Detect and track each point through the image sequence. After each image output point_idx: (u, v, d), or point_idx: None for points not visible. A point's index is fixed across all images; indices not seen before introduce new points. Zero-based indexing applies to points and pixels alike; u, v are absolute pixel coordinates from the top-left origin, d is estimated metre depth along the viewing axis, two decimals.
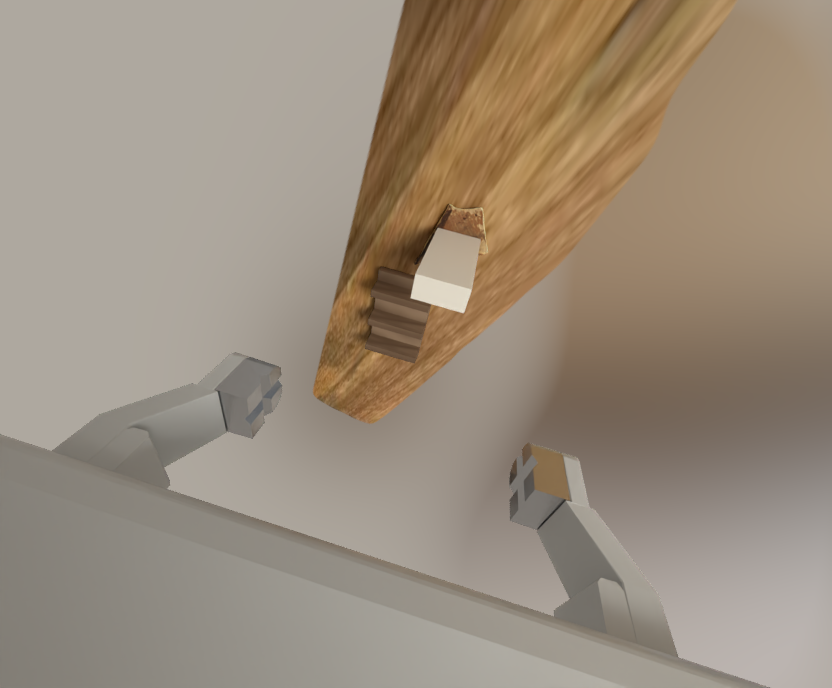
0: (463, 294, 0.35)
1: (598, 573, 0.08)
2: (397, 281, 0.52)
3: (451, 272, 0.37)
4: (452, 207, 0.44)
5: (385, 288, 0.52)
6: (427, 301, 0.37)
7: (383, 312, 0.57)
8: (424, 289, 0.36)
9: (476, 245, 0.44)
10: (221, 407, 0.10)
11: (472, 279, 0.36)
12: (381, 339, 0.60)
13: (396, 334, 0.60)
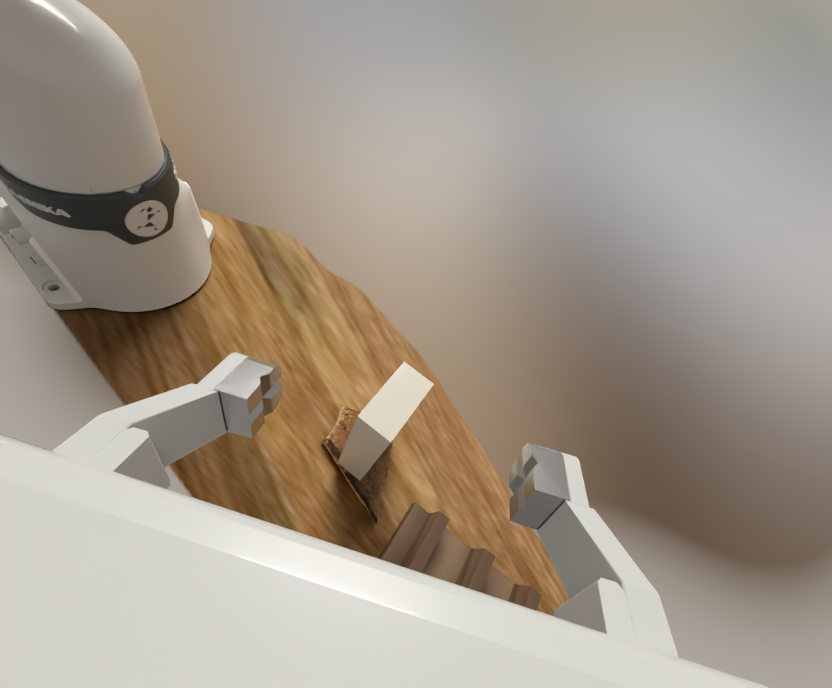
0: (407, 373, 0.27)
1: (598, 574, 0.08)
2: None
3: None
4: (327, 437, 0.37)
5: None
6: (403, 420, 0.25)
7: None
8: (384, 416, 0.25)
9: None
10: (221, 407, 0.10)
11: None
12: None
13: None
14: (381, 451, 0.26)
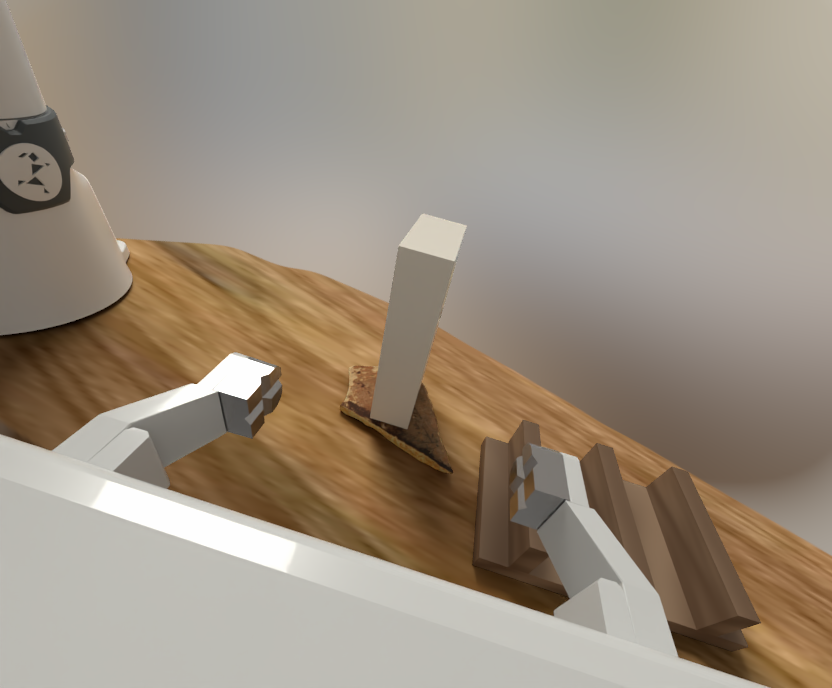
0: (432, 219, 0.22)
1: (598, 573, 0.08)
2: (497, 511, 0.22)
3: None
4: (345, 401, 0.27)
5: (518, 525, 0.20)
6: (455, 246, 0.19)
7: None
8: (431, 244, 0.18)
9: None
10: (221, 407, 0.10)
11: None
12: (690, 582, 0.21)
13: (648, 542, 0.23)
14: (440, 305, 0.19)
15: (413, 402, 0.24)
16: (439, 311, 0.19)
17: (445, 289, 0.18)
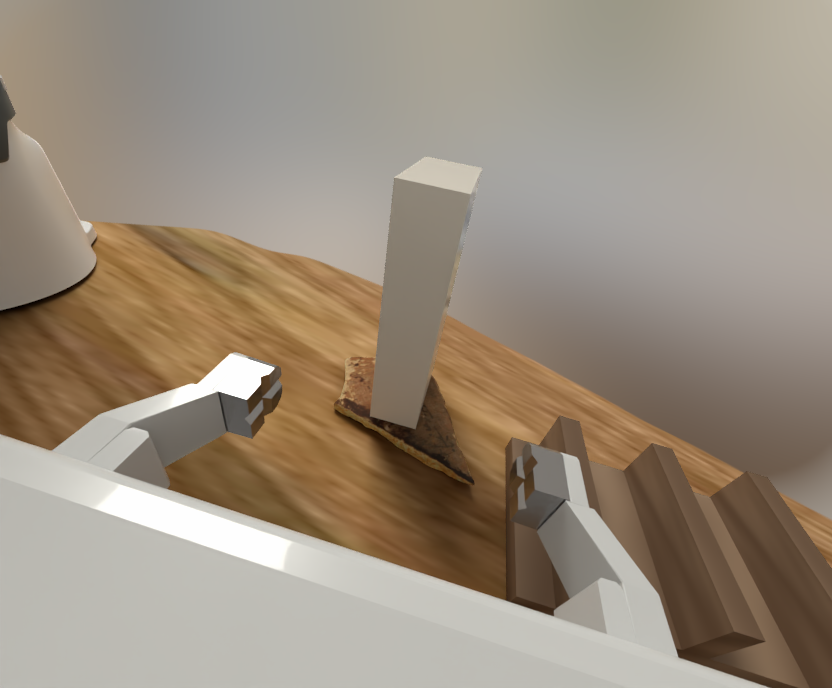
0: (438, 161, 0.17)
1: (598, 573, 0.08)
2: (534, 532, 0.18)
3: None
4: (340, 398, 0.23)
5: None
6: (470, 183, 0.14)
7: (671, 600, 0.16)
8: (438, 179, 0.14)
9: None
10: (221, 407, 0.10)
11: None
12: (794, 624, 0.16)
13: None
14: (452, 260, 0.14)
15: (421, 394, 0.19)
16: (451, 269, 0.15)
17: (458, 237, 0.14)
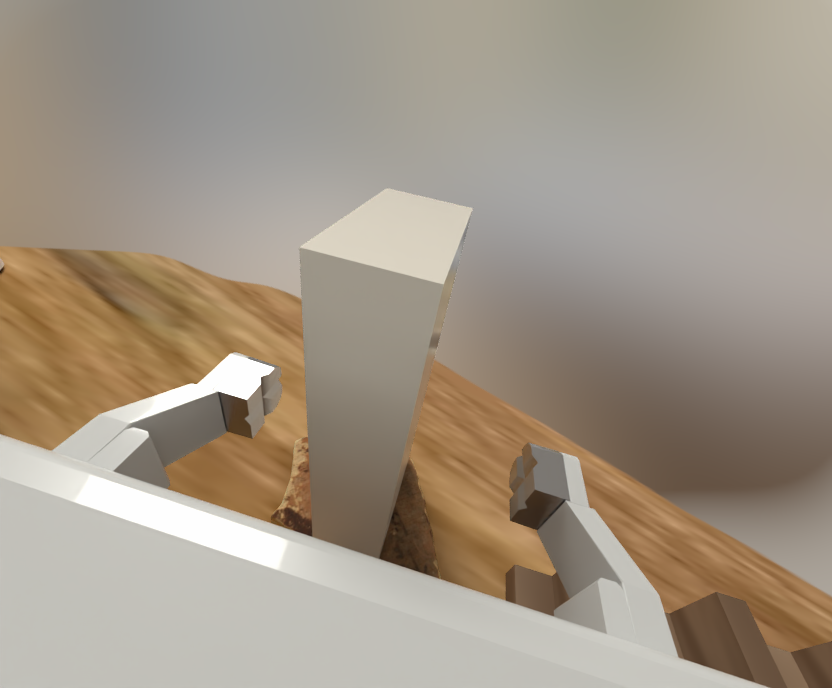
0: (404, 197, 0.11)
1: (598, 573, 0.08)
2: None
3: None
4: (280, 507, 0.17)
5: None
6: (447, 248, 0.08)
7: None
8: (388, 244, 0.08)
9: None
10: (221, 407, 0.10)
11: None
12: None
13: None
14: (415, 383, 0.08)
15: (381, 535, 0.13)
16: (414, 395, 0.08)
17: (424, 350, 0.08)
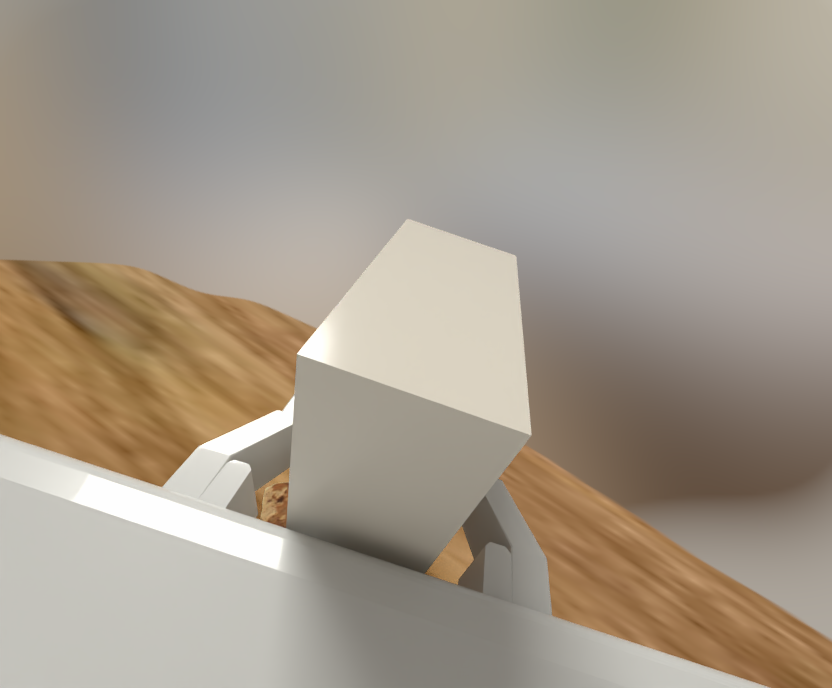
0: (432, 236, 0.08)
1: (495, 540, 0.08)
2: None
3: None
4: None
5: None
6: (511, 340, 0.06)
7: None
8: (431, 337, 0.05)
9: None
10: None
11: None
12: None
13: None
14: (450, 528, 0.06)
15: None
16: (446, 539, 0.06)
17: (475, 500, 0.05)
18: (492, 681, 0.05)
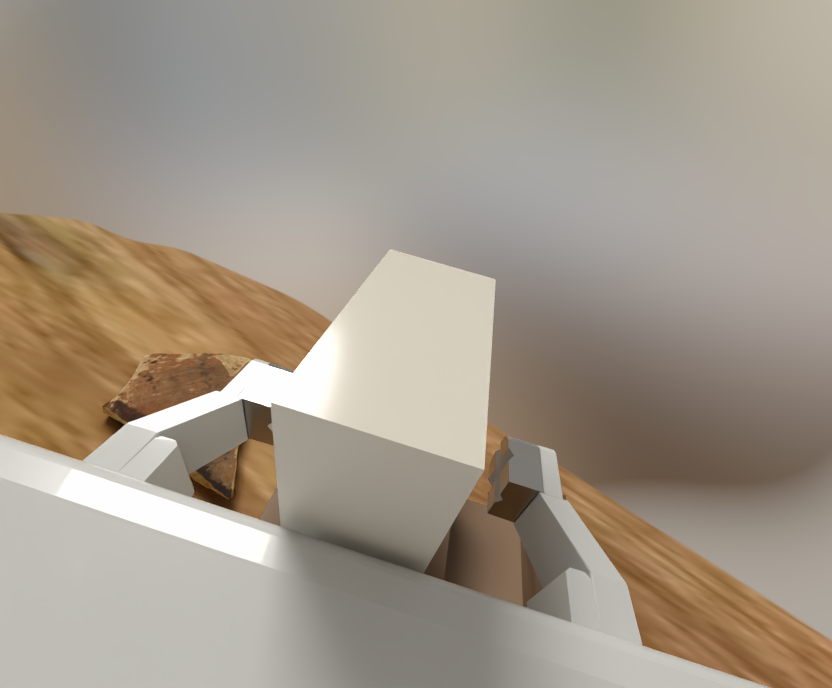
0: (412, 267, 0.09)
1: (569, 564, 0.08)
2: None
3: None
4: (112, 400, 0.20)
5: None
6: (478, 372, 0.06)
7: None
8: (398, 374, 0.06)
9: None
10: (244, 414, 0.10)
11: None
12: None
13: None
14: (428, 550, 0.06)
15: None
16: (426, 560, 0.06)
17: (445, 525, 0.05)
18: (492, 681, 0.05)
